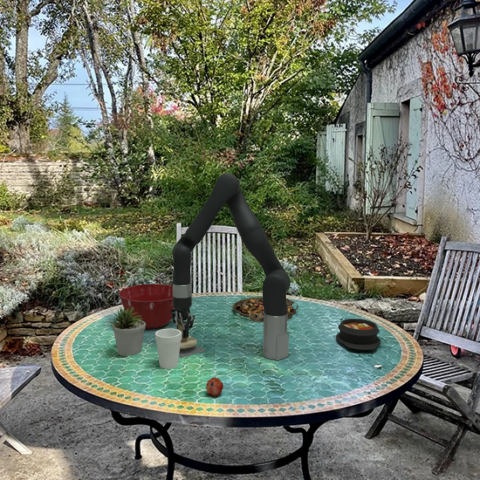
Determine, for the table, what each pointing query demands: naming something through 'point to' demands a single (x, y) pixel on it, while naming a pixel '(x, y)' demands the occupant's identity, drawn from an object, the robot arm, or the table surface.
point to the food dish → (258, 308)
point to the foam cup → (168, 347)
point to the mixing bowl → (149, 303)
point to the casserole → (358, 334)
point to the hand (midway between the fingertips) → (182, 336)
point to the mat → (190, 351)
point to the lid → (186, 339)
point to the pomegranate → (214, 386)
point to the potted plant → (128, 333)
